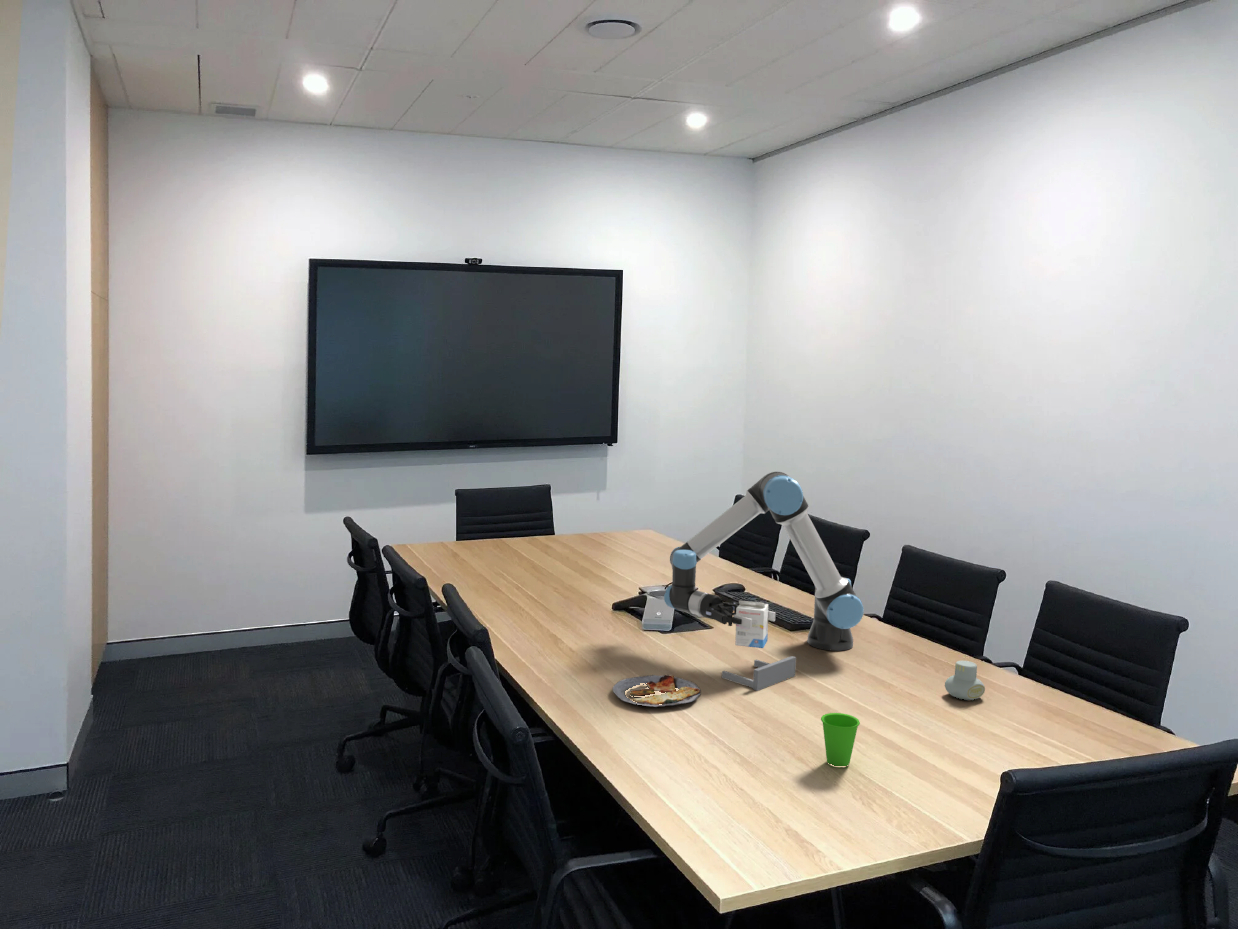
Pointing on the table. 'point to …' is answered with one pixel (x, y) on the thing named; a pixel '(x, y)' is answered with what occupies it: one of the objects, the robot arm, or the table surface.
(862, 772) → the table surface
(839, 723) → the cup
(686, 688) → the food plate
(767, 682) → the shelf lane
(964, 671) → the air freshener
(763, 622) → the ink box
